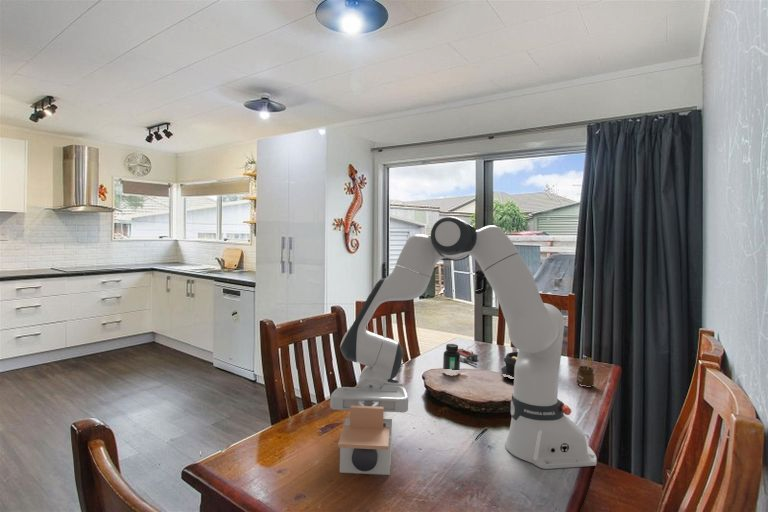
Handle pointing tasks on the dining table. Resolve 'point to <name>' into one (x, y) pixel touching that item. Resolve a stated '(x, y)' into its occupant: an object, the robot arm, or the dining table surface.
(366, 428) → the tan wooden stepped block
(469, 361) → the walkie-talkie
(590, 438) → the dining table surface
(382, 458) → the camera case
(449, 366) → the supplement bottle
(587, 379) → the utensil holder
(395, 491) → the dining table surface
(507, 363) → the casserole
